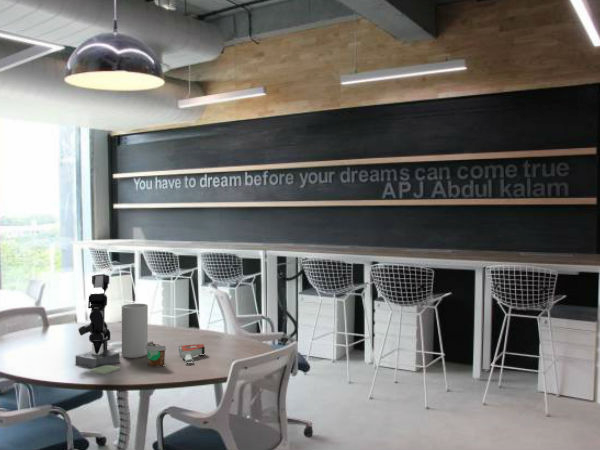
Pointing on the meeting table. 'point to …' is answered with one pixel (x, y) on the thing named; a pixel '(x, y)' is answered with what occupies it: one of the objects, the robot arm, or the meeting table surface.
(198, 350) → the grey and red box
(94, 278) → the robot arm
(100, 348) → the silver upright cylinder
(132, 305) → the cylinder vase
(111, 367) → the mat
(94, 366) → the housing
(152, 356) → the food container
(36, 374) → the meeting table surface
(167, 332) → the meeting table surface
